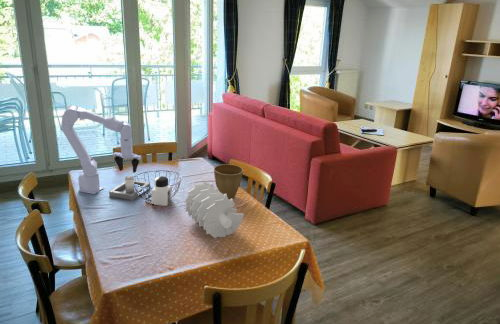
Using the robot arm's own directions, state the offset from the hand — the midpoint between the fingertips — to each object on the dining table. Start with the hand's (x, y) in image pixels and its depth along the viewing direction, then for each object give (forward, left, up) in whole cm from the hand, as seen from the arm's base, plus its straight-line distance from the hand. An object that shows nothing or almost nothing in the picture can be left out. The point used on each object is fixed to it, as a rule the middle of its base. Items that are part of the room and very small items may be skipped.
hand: (128, 171), depth 197 cm
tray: (+4, -5, -9) cm, 11 cm away
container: (+24, -9, -10) cm, 27 cm away
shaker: (+4, -5, -9) cm, 11 cm away
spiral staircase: (+56, -23, -10) cm, 61 cm away
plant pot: (+53, +8, -10) cm, 54 cm away
